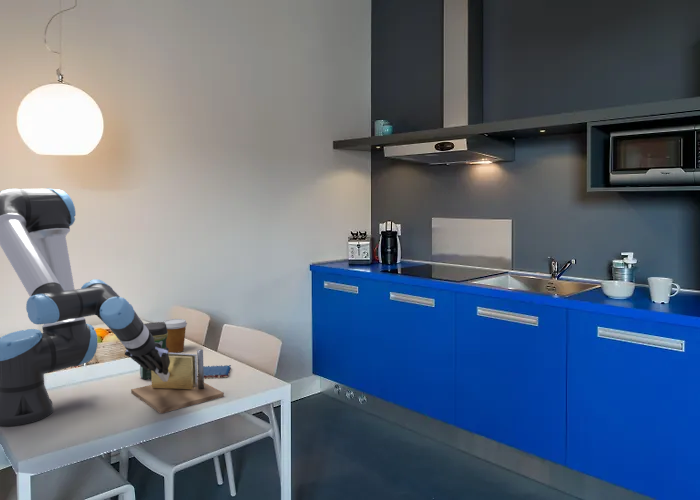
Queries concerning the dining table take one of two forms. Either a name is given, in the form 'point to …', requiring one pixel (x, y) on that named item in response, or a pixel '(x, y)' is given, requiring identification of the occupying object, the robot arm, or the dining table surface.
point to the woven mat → (216, 371)
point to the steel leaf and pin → (195, 367)
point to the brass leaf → (176, 374)
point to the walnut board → (175, 396)
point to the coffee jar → (160, 338)
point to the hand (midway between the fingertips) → (166, 377)
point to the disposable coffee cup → (175, 335)
